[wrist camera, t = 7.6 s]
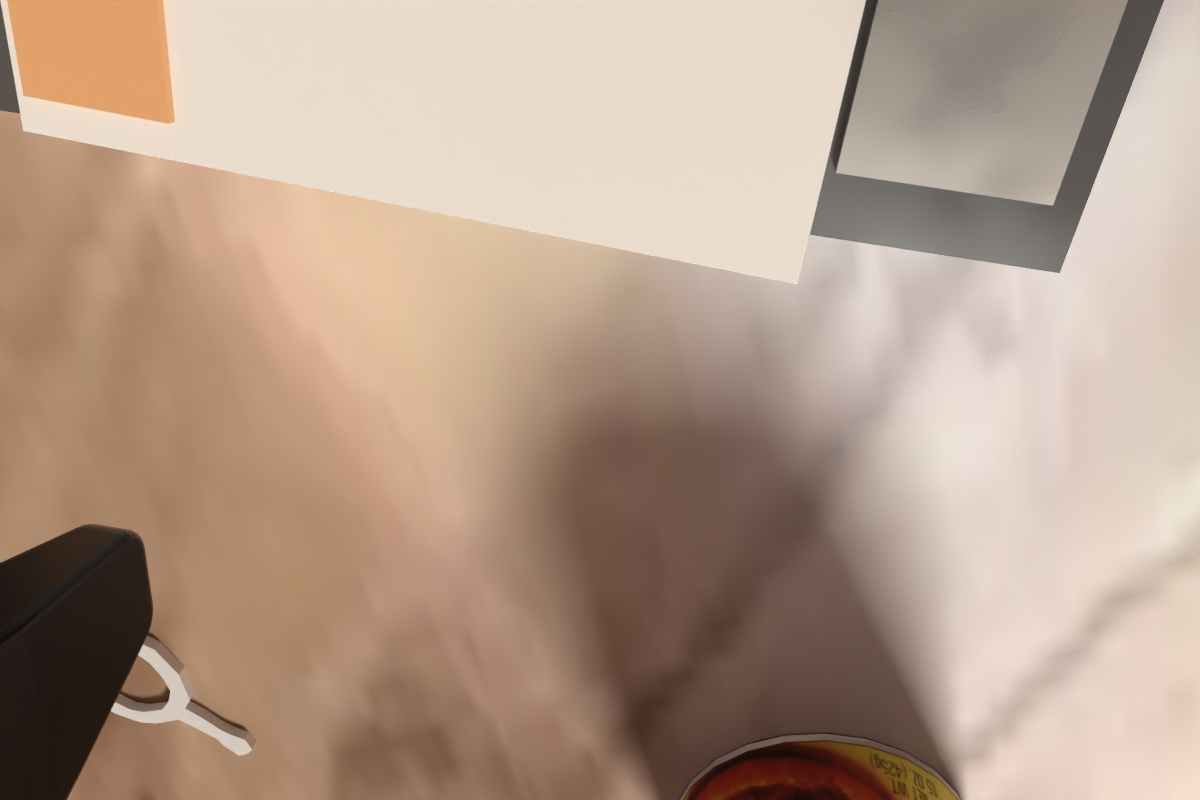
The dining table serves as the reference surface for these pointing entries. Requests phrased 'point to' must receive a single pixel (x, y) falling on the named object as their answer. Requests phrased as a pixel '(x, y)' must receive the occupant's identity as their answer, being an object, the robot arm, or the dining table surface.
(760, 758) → the canned food
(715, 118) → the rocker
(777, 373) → the dining table surface
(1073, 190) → the breaker box
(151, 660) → the scissors
